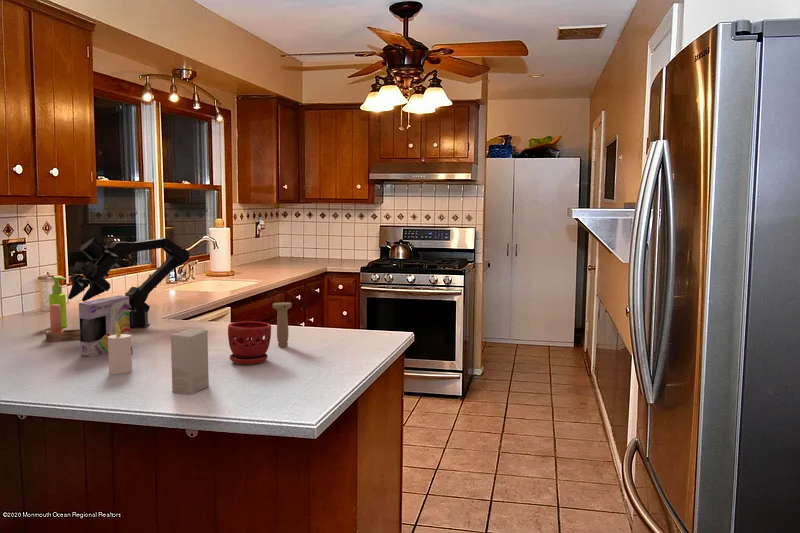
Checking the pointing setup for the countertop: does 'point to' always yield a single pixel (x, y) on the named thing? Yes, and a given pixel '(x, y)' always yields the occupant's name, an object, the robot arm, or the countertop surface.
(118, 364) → the candle
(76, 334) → the track
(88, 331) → the cake pan box
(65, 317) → the soap dispenser
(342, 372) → the countertop surface
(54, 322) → the slider knob
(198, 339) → the skincare box
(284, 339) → the handle
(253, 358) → the plant pot
